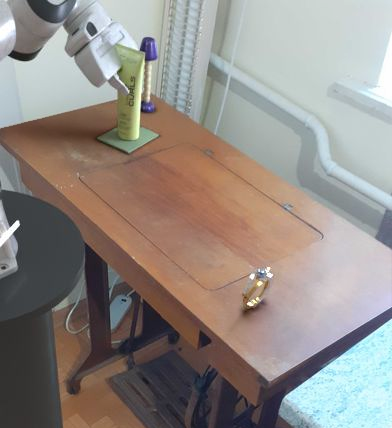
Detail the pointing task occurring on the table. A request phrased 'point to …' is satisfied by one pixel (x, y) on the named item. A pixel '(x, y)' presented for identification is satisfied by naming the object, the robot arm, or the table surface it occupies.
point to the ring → (267, 286)
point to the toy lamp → (148, 71)
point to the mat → (127, 145)
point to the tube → (132, 101)
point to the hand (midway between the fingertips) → (133, 87)
